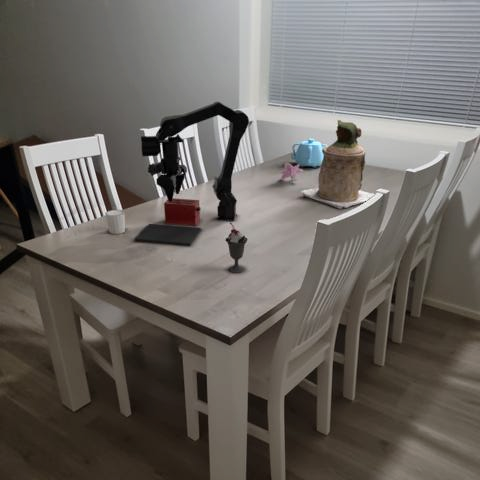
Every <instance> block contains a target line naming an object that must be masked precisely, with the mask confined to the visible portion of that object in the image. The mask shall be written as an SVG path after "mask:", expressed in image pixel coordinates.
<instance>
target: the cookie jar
mask: <svg viewBox="0 0 480 480" xmlns="http://www.w3.org/2000/svg"><path fill="white" fill-rule="evenodd" d="M335 134H336V138H337V139H336V141H333V143H331V144H330V145H327V146H326V147H325V146H323V147H322V148H323V149H322V153H323V160H322V164H321V165H320V169H319V173H318V177H317V179H318V180H317V181H318V182H317V183H318V187H315V188H310V189H303V190H301V191H300V192H301V194H302V198H303V197H307V198H309V199H313V200H315V201H318V202H321V203H324V204H327V205H330V206H332V207H335V208H336V209H339V210H342V208H349V207H353V206H357V205H360V204H362V203H365V201H366V202H368V201H367V200H368V199H369V198H371V197H372V196H373V195H374V194H375V193H373V192H368V191H364V190H361V188H362V181H363V178H364V177H363V171H364V170H365V165H366V151H365V150H364V148H363V147H362V146H361V145H359V144H358V140H357V139H358V138H360V137H362V129H361V128H360V127H357V124H355V123H353V122H347V121H342V120H340V119H337V127H336V131H335Z"/></svg>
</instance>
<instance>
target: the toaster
mask: <svg viewBox="0 0 480 480" xmlns="http://www.w3.org/2000/svg"><path fill="white" fill-rule="evenodd" d="M201 208H202V207H200V199H190V198H189V199H188V198H176V197H175V198H174V197H173V199H172V201H171V202H169V201H168V199H166V201H165V202H164V203H163V210H164V220H165V221H164V222H165V224H164V225H175V226H189V227H197V225H198V224H199V222H200V221H201Z"/></svg>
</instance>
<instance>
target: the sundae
mask: <svg viewBox="0 0 480 480" xmlns="http://www.w3.org/2000/svg"><path fill="white" fill-rule="evenodd" d="M229 224H230V225H231V227H232V229H231V230H230V233H229V234H228V236H227V237H226V238H225V242H226V243H227V245H228V252H229V256H230V257H231V258H232V259H233V260H234V265H231V266H230V267H228V271H229V272H230V273H232V274H240V273H242V272H245V267H243V266H242V265H239V260H240V259H242V258H243V256H244V253H245V245H246V243H247V242H248V237H246V236H245V235H244V234H243V233H242V232H241V231H240V230H238V229H236V228H235V226H234V225H233V222H229Z"/></svg>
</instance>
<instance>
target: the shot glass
mask: <svg viewBox="0 0 480 480" xmlns="http://www.w3.org/2000/svg"><path fill="white" fill-rule="evenodd" d="M125 214H126V213H125V211H124V210H122V209H112V210H107V211H106V212H105V220H106V224H107V227H108V231H109V233H110V234H113V235H119V234H123V233H125V232H126V218H125V217H126V215H125Z"/></svg>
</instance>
